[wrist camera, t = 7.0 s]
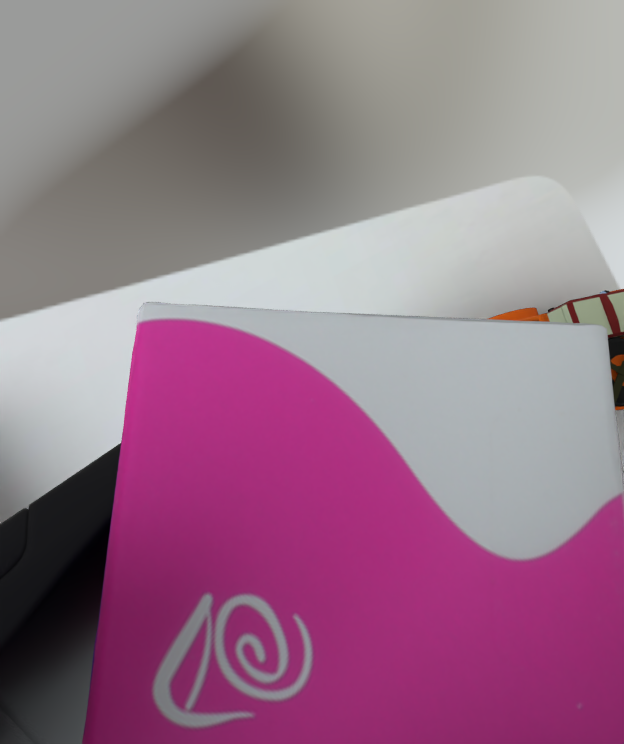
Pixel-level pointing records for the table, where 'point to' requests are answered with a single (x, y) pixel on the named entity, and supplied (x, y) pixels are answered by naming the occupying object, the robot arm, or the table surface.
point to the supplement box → (363, 534)
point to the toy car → (609, 309)
